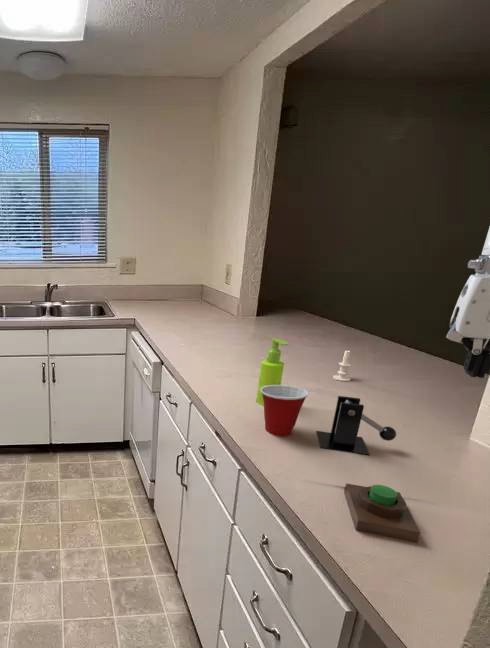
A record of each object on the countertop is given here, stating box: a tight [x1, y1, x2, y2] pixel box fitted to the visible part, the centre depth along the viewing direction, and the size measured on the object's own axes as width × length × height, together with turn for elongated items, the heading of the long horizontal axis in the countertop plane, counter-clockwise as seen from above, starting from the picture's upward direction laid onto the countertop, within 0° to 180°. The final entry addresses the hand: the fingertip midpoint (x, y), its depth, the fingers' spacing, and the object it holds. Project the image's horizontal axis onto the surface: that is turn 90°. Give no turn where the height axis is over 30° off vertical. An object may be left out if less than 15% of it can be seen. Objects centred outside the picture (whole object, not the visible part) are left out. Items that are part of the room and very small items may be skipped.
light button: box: [369, 484, 398, 505], centre depth 77 cm, size 4×4×2 cm
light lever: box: [344, 399, 397, 442], centre depth 99 cm, size 13×3×3 cm, turn 69°
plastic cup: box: [260, 384, 309, 437], centre depth 108 cm, size 11×11×12 cm
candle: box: [332, 349, 352, 383], centre depth 145 cm, size 5×5×10 cm
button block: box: [343, 482, 421, 544], centre depth 78 cm, size 12×9×4 cm
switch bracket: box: [315, 395, 371, 457], centre depth 101 cm, size 10×9×12 cm
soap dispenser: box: [255, 337, 289, 407], centre depth 123 cm, size 6×7×20 cm
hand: (473, 374), depth 76 cm, fingers closed
